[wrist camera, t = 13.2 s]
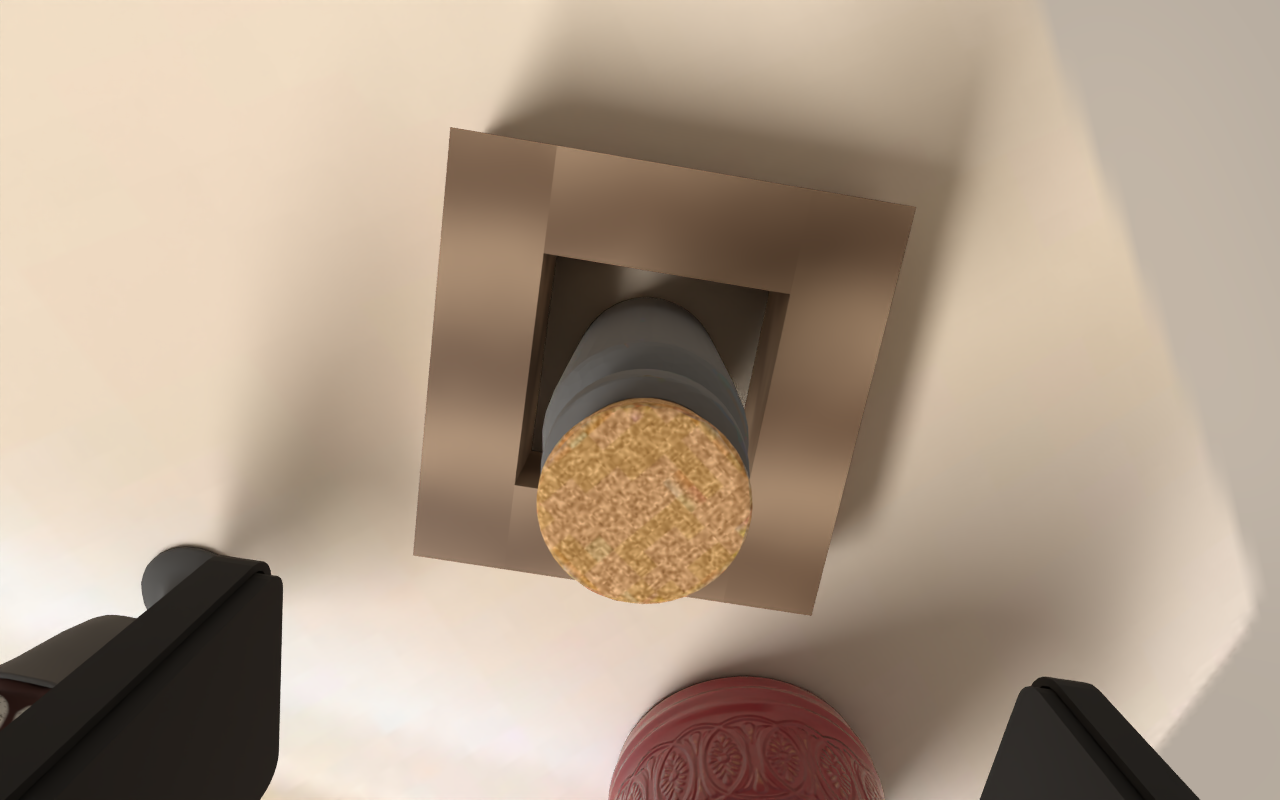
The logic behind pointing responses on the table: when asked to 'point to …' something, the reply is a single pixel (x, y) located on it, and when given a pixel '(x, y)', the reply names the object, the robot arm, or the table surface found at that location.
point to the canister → (744, 747)
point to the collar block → (666, 243)
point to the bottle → (645, 458)
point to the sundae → (86, 637)
